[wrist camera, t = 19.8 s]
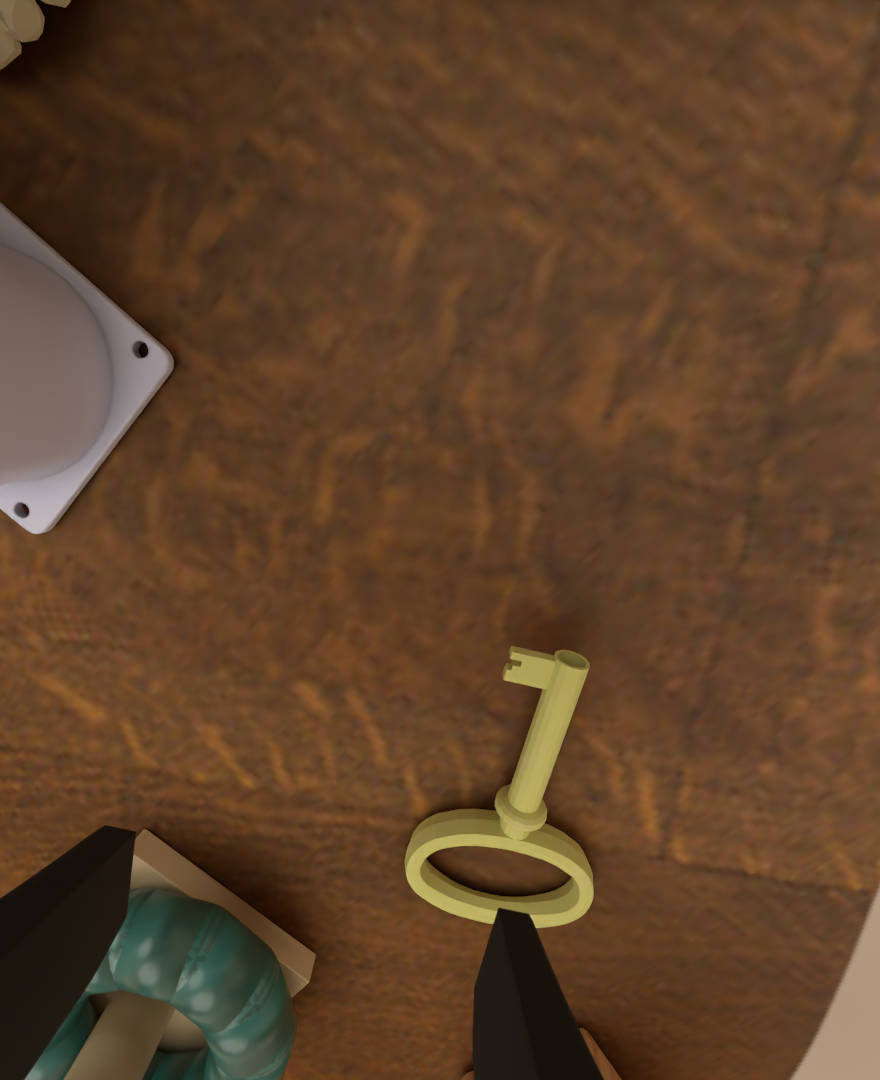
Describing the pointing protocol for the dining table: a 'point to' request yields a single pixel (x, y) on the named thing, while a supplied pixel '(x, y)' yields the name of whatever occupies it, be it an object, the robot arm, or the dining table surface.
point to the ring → (190, 991)
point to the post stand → (149, 1024)
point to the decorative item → (602, 1062)
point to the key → (516, 809)
